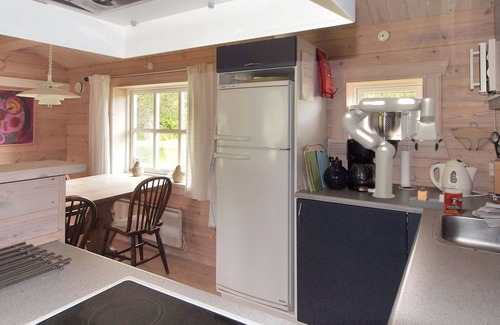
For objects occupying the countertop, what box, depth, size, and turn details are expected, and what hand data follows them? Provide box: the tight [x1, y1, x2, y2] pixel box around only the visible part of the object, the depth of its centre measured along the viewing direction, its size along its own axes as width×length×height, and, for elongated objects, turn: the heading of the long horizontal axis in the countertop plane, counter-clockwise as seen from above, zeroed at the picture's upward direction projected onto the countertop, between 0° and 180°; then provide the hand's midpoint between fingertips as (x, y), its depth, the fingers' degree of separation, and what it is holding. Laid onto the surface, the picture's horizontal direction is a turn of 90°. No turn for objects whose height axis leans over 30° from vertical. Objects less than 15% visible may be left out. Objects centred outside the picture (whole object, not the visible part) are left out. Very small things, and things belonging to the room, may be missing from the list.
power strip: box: [408, 193, 444, 211], centre depth 178 cm, size 20×8×6 cm, turn 59°
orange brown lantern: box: [417, 186, 428, 201], centre depth 180 cm, size 4×4×10 cm
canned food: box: [443, 188, 464, 216], centre depth 165 cm, size 8×8×11 cm
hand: (426, 150), depth 192 cm, fingers open, 9 cm apart
